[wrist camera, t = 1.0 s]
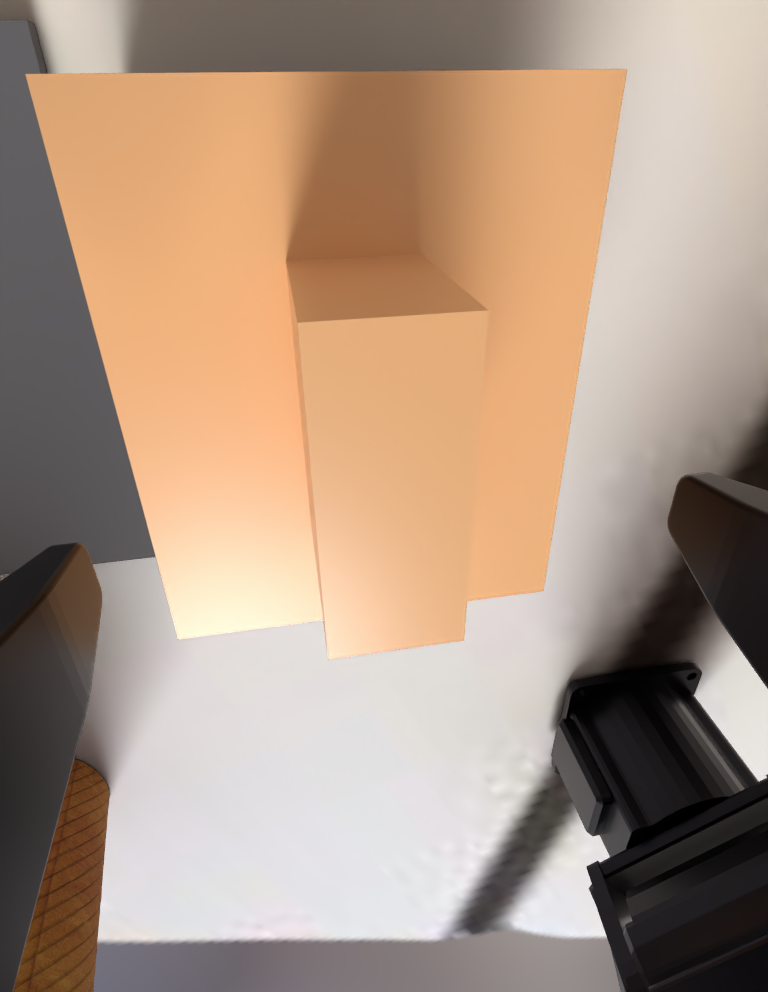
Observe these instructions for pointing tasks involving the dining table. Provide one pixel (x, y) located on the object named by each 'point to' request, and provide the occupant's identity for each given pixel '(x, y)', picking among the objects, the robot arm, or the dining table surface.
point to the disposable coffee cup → (69, 893)
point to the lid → (339, 328)
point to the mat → (51, 358)
